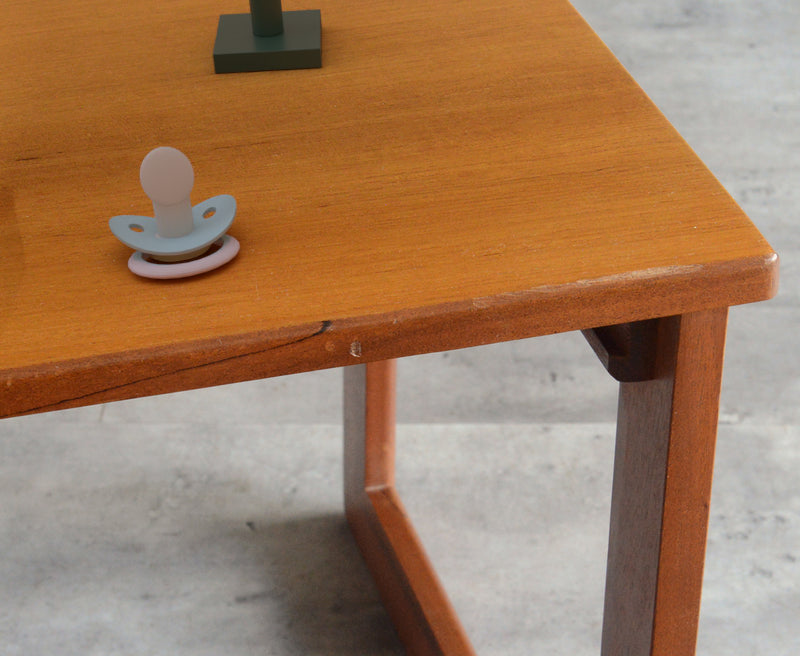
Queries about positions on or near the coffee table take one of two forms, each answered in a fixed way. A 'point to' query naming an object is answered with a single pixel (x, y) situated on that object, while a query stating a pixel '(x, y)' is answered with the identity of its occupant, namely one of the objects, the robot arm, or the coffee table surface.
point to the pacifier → (176, 221)
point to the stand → (268, 39)
